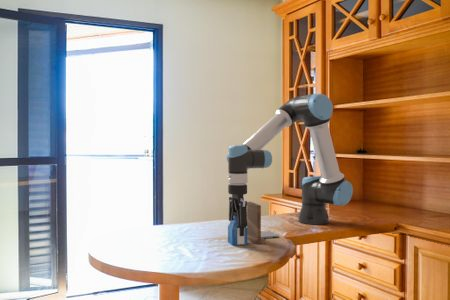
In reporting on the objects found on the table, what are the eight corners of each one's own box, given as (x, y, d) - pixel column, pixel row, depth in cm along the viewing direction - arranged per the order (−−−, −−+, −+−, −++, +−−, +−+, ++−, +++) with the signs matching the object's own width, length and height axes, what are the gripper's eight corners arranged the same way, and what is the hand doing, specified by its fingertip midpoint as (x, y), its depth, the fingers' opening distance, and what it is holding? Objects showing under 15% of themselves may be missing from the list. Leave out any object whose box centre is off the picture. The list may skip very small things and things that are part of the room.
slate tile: (269, 232, 175) (269, 230, 175) (278, 237, 166) (279, 235, 166) (250, 234, 172) (250, 232, 172) (259, 239, 163) (259, 237, 163)
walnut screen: (253, 236, 168) (253, 201, 168) (265, 243, 157) (265, 205, 156) (242, 237, 166) (242, 201, 166) (253, 244, 155) (254, 206, 155)
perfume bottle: (232, 245, 153) (232, 214, 153) (227, 241, 159) (227, 211, 159) (247, 244, 155) (247, 213, 154) (242, 240, 161) (242, 211, 160)
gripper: (220, 181, 164) (220, 236, 165) (237, 186, 146) (237, 248, 146) (237, 181, 167) (237, 235, 167) (256, 186, 148) (256, 247, 149)
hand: (237, 241), depth 157 cm, fingers closed on perfume bottle, 6 cm apart
